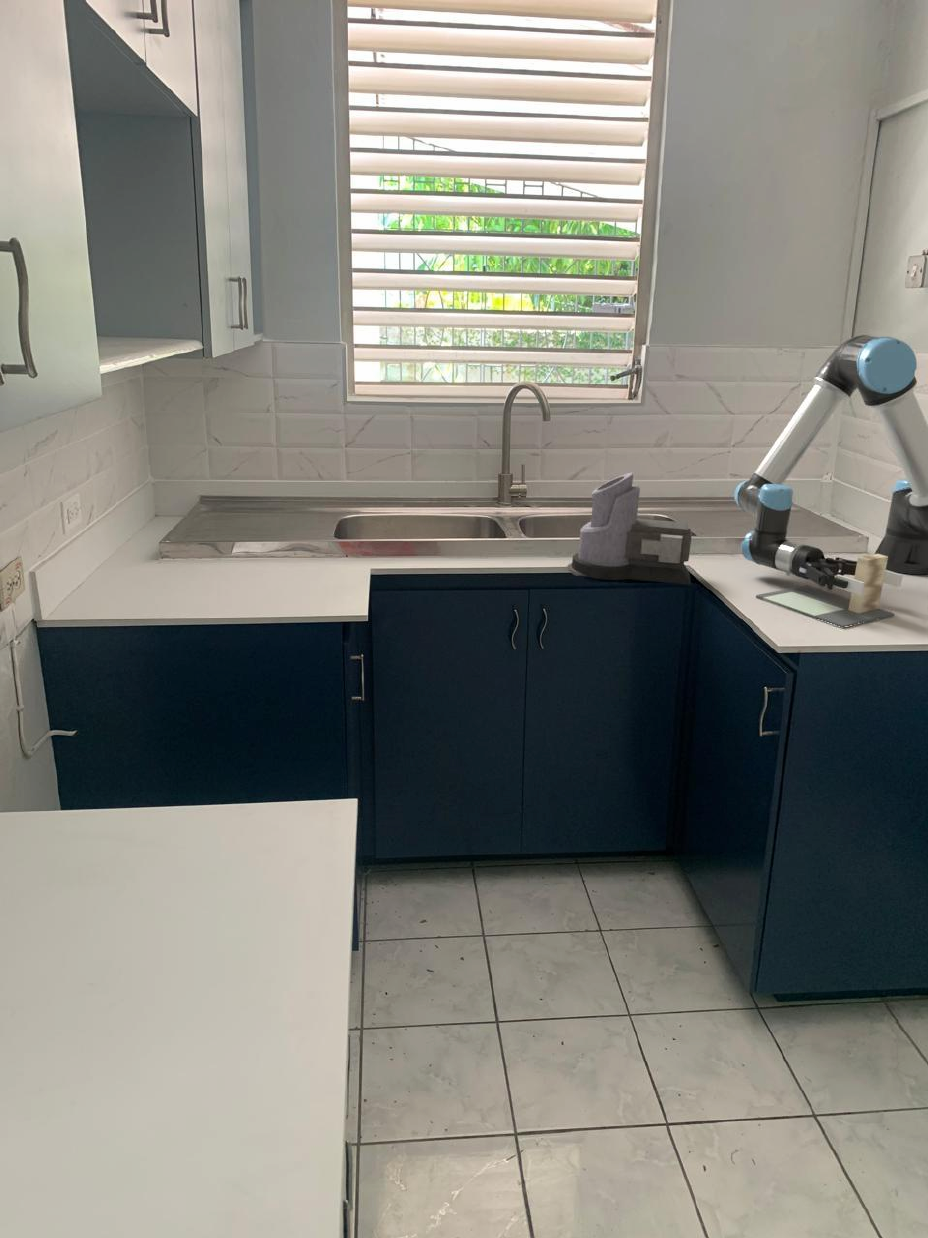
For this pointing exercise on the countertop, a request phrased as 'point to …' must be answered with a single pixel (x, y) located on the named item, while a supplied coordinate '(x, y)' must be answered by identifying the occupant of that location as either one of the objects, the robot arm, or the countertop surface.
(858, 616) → the mat
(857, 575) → the kitchen sponge
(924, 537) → the robot arm
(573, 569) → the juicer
